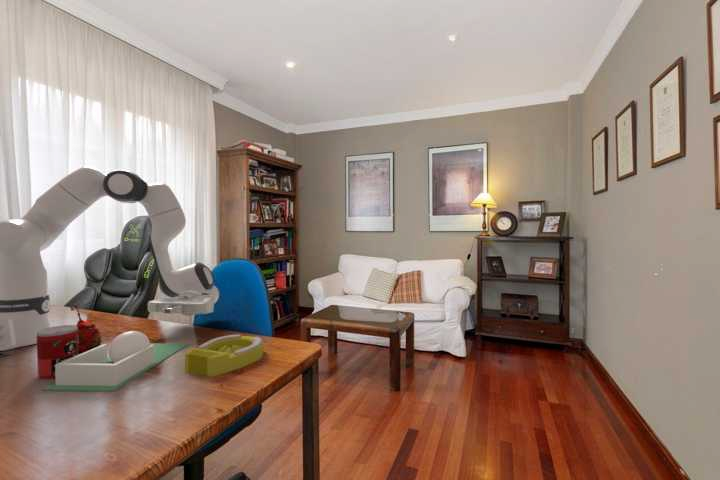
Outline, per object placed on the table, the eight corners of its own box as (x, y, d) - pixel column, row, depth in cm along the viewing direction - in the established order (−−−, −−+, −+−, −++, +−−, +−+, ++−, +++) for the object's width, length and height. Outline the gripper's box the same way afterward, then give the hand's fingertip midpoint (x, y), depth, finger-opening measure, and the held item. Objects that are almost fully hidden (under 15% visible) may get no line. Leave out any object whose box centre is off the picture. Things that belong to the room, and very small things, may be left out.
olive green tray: (172, 371, 87) (172, 351, 87) (229, 345, 107) (229, 329, 106) (224, 380, 82) (224, 360, 81) (274, 351, 101) (274, 334, 101)
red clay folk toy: (92, 355, 97) (91, 302, 97) (63, 357, 96) (62, 304, 95) (105, 346, 105) (104, 297, 104) (78, 348, 103) (77, 298, 103)
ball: (129, 356, 95) (103, 374, 86) (123, 325, 94) (96, 341, 85) (160, 354, 94) (137, 373, 86) (154, 324, 93) (130, 340, 84)
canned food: (55, 380, 81) (54, 334, 80) (28, 378, 82) (27, 332, 82) (87, 368, 88) (86, 325, 88) (62, 365, 90) (61, 324, 89)
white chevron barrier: (103, 362, 92) (103, 344, 92) (154, 363, 91) (154, 344, 91) (55, 386, 78) (55, 364, 78) (115, 387, 77) (115, 365, 77)
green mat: (138, 344, 107) (138, 343, 107) (188, 344, 106) (188, 343, 106) (43, 390, 76) (43, 388, 76) (113, 391, 75) (113, 390, 75)
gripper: (162, 293, 123) (135, 300, 109) (217, 294, 122) (198, 302, 109) (162, 310, 123) (135, 320, 110) (217, 312, 123) (197, 322, 109)
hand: (167, 311), depth 109 cm, fingers closed
